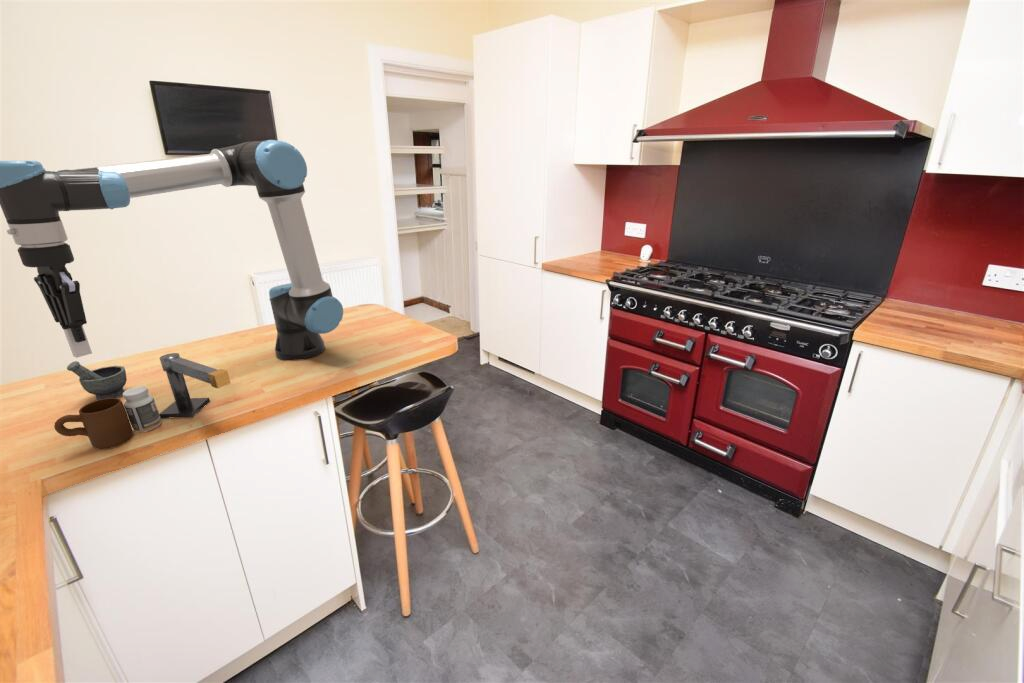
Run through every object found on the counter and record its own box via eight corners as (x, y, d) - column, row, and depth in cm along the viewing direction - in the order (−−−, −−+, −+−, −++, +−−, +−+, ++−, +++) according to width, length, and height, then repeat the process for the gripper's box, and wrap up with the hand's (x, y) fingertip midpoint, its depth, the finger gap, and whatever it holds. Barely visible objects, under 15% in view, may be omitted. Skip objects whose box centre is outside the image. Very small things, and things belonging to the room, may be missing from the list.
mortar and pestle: (124, 384, 134) (111, 346, 130) (139, 392, 129) (125, 353, 125) (75, 401, 125) (58, 360, 121) (88, 410, 121) (71, 368, 116)
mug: (67, 463, 99) (50, 425, 96) (66, 448, 105) (50, 412, 101) (136, 441, 107) (123, 405, 104) (132, 428, 112) (119, 393, 109)
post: (210, 401, 124) (199, 362, 120) (193, 417, 117) (180, 375, 112) (179, 402, 124) (166, 363, 119) (160, 418, 116) (146, 376, 112)
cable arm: (159, 369, 115) (156, 357, 114) (177, 363, 118) (173, 352, 117) (215, 389, 105) (212, 376, 104) (232, 382, 108) (229, 369, 107)
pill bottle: (164, 418, 116) (152, 383, 113) (158, 430, 111) (146, 393, 108) (137, 423, 114) (124, 387, 111) (130, 435, 109) (116, 398, 106)
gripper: (2, 244, 91) (46, 355, 100) (33, 249, 86) (76, 366, 94) (51, 239, 97) (88, 344, 106) (82, 244, 92) (119, 354, 100)
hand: (82, 354), depth 100 cm, fingers closed
